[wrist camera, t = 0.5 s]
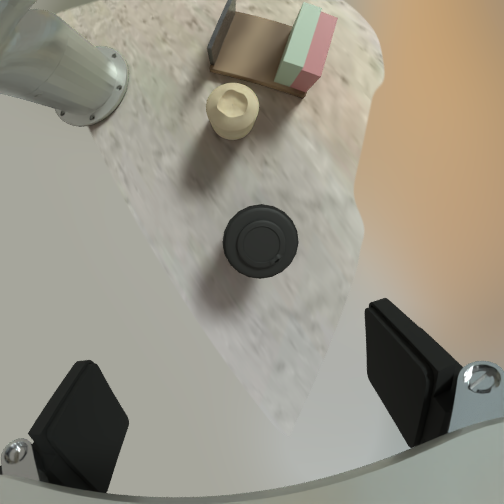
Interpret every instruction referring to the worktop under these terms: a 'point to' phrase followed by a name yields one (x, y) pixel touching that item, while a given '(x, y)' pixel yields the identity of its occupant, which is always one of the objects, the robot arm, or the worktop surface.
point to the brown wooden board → (254, 51)
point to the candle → (232, 110)
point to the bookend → (221, 31)
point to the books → (306, 48)
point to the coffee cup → (260, 241)
